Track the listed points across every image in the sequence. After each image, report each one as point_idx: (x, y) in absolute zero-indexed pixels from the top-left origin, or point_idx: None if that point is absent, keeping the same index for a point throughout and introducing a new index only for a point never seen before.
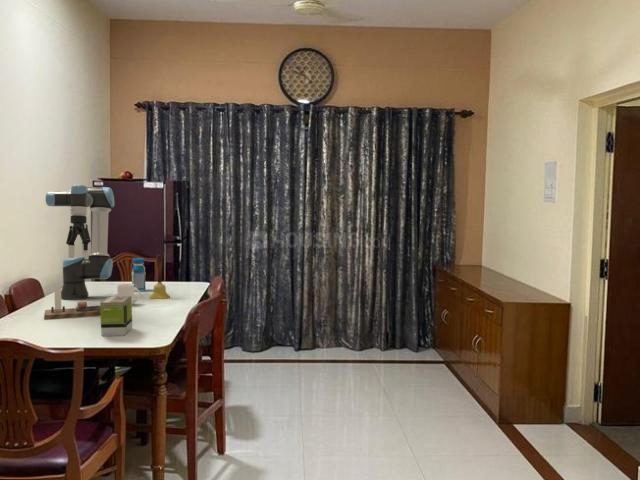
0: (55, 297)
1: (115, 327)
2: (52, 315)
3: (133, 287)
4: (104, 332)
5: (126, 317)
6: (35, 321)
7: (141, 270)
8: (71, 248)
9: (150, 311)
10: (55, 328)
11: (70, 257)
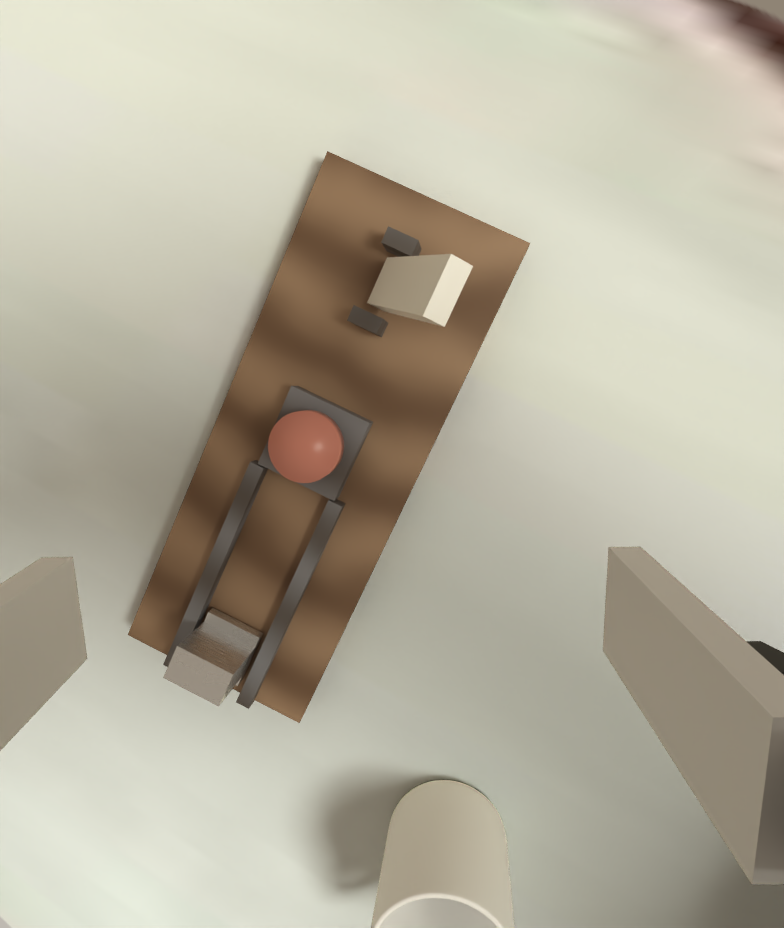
0: (414, 263)
1: None
2: (306, 207)
3: None
4: None
5: None
6: (310, 87)
7: None
8: (707, 717)
9: (112, 780)
10: (16, 103)
11: (610, 577)
